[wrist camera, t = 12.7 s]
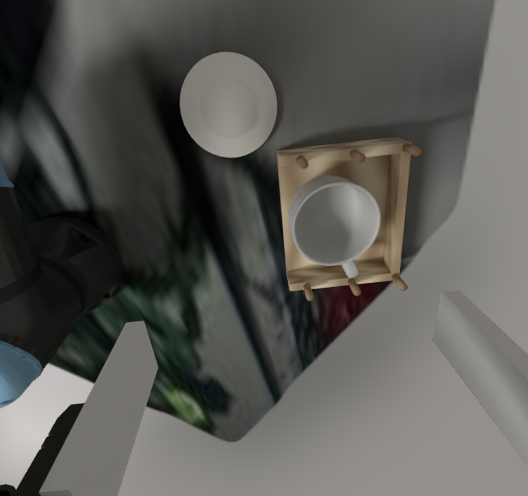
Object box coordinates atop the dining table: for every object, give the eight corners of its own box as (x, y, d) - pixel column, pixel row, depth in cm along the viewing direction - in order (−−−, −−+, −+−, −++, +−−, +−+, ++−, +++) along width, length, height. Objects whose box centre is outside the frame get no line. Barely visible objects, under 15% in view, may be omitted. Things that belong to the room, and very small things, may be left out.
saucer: (192, 160, 44) (190, 163, 42) (171, 59, 39) (168, 57, 37) (280, 150, 44) (281, 152, 42) (271, 47, 39) (272, 45, 37)
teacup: (278, 178, 44) (283, 195, 37) (357, 159, 43) (379, 173, 36) (297, 265, 50) (305, 295, 43) (367, 250, 49) (387, 277, 42)
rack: (286, 274, 52) (292, 303, 45) (276, 150, 43) (281, 161, 36) (386, 263, 52) (407, 290, 45) (395, 136, 43) (423, 145, 36)
